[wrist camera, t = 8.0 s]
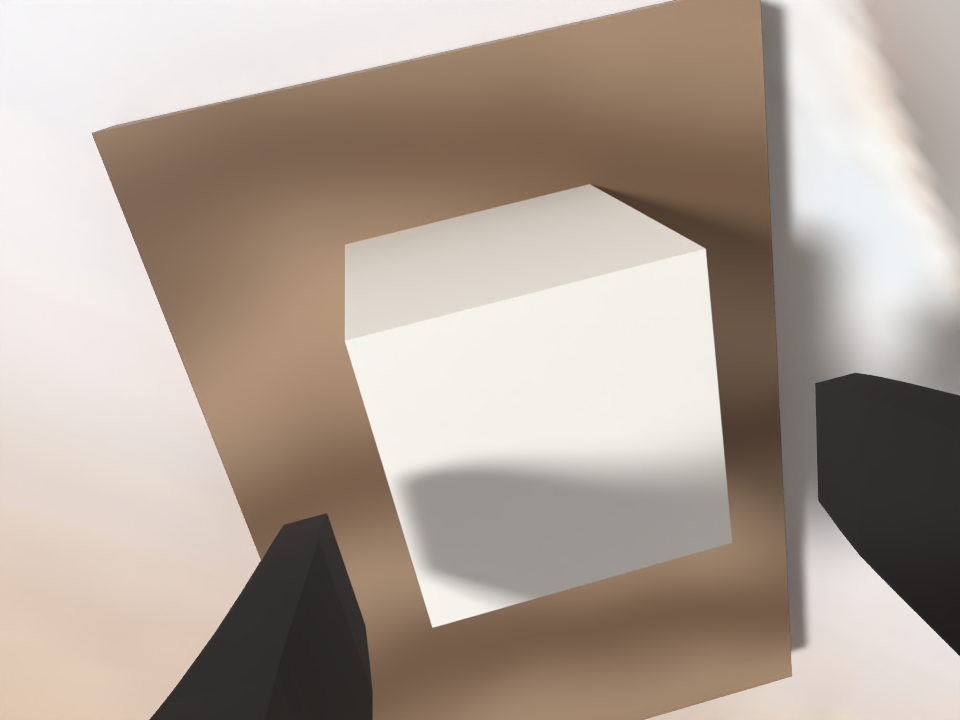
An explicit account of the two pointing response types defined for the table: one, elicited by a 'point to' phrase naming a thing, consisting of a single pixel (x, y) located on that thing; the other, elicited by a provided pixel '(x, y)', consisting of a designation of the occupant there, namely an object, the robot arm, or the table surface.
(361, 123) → the board
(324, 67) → the table surface
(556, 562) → the plaster cube
